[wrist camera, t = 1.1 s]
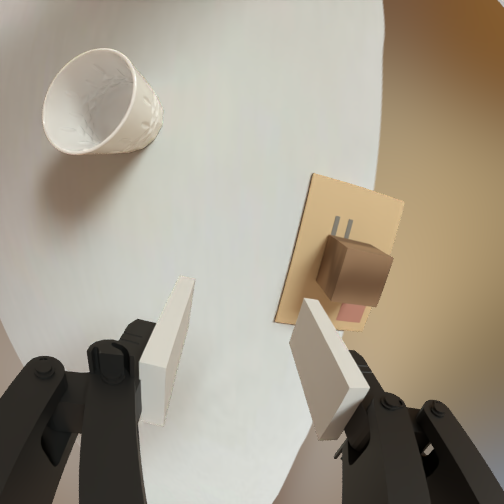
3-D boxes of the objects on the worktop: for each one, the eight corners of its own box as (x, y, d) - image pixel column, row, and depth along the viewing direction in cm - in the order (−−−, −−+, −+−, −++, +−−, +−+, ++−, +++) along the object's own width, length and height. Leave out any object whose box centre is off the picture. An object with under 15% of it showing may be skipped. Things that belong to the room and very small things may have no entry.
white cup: (90, 151, 24) (31, 148, 15) (111, 80, 22) (62, 49, 13) (157, 164, 25) (116, 163, 16) (180, 89, 23) (152, 49, 14)
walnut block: (328, 234, 28) (347, 247, 23) (370, 244, 28) (393, 258, 24) (315, 280, 29) (330, 301, 24) (356, 287, 30) (376, 307, 25)
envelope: (312, 173, 26) (313, 173, 26) (403, 201, 28) (405, 201, 27) (274, 320, 30) (275, 321, 30) (361, 330, 32) (362, 332, 31)
